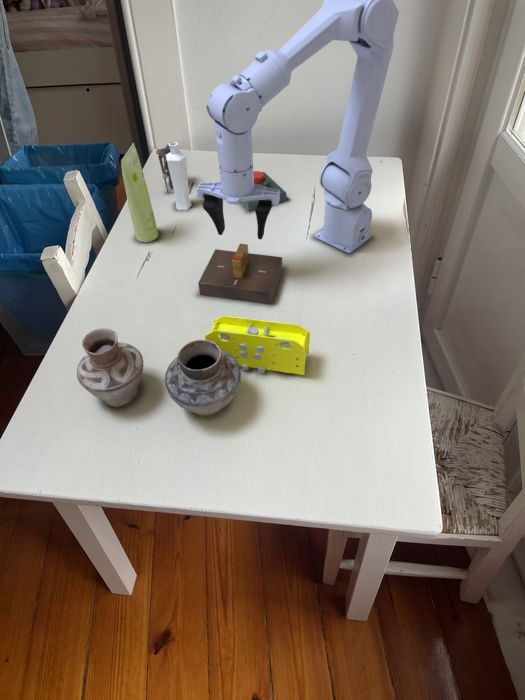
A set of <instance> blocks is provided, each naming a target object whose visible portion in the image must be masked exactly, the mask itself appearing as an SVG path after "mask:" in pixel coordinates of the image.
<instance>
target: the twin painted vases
mask: <svg viewBox="0 0 525 700" xmlns="http://www.w3.org/2000/svg"><path fill="white" fill-rule="evenodd" d="M118 338H119V337H118V334H117V332H116V331H114V330H113V329H111V328H105V327H101V328H96V329H93V330H91V331H89V332H88V333H87V334H86V335H85V336H84V337H83V338H82V341H81V347H82V349H83V350H84V352H85V355H84V356H82V358H81V359H80V361H79V363H78V364H77V368H76V378H77V381H78V383H79V385H81V386H82V388H83V389H85V390H86V391H87V392H88V393H90V394H91V395H93V396H94V397H96V398H97V399H99V400H103V402H104V403H105V404H107V406H112V407H122V406H125V405H127V404H130V402H132V401H133V400H134V399H135V397H136V396H137V395H138V392H139V385H140V383H141V380H142V377H143V372H144V358H143V355H142V353H141V352H140V350H139V349H138V348H136V346H134V345H132V344H129V343H126V342H121V341H120V342H119V341H118ZM241 380H242V368H241V366H239V363H238V361H237V360H236V359H235V358H234V357H233V356H232V355H231V354H230V353H228V352H226V351H224V350H221V349H220V348H219V346H218V345H217V344H216V343H214V342H212V341H209V340H205V339H195V340H191V341H189V342H187V343H186V344H184V345H183V346H182V347H181V348H180V349H179V351H178V352H177V357H175V358H174V359H173V360H172V361H171V362H170V363H169V364H168V366H167V369H166V371H165V375H164V384H165V388H166V391H167V392H168V395H169V397H170V398H171V400H172V401H173V402H174V403H175V404H177V405H178V406H179V407H180V408H182V409H184V410H185V411H188V412H191V413H195V414H196V415H199V416H211V415H214V414H217V413H218V412H220V411H221V410H222V409H223V408H225V407H227V405H229V404H230V403H231V402H232V401H233V399H234V398H235V396H236V395H237V393H238V390H239V388H240V384H241Z"/></svg>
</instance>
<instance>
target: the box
mask: <svg viewBox="0 0 525 700" xmlns="http://www.w3.org/2000/svg"><path fill="white" fill-rule="evenodd" d="M261 172H262V173H263V174H264V182H263V183H261V184H257V185H261V186H264V187H268V188H271V189H277V190H280V200H279V203H278V204H280V203H284V202H287V191H285V190H284V189H283V188H282V187H281V186H280V185H279V184H278V183H277V182H276V181H275V180H274V179H272V178H271V176H269V175H268V174H267V173H266V172H265V171H261ZM258 203H259V202H257V201H243V202H239V204H241V205H242V206H243V207H244V208H245V210H246V211H247V212H249V213H250V212H253V211H255V209H256V207H257V205H258Z"/></svg>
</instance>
